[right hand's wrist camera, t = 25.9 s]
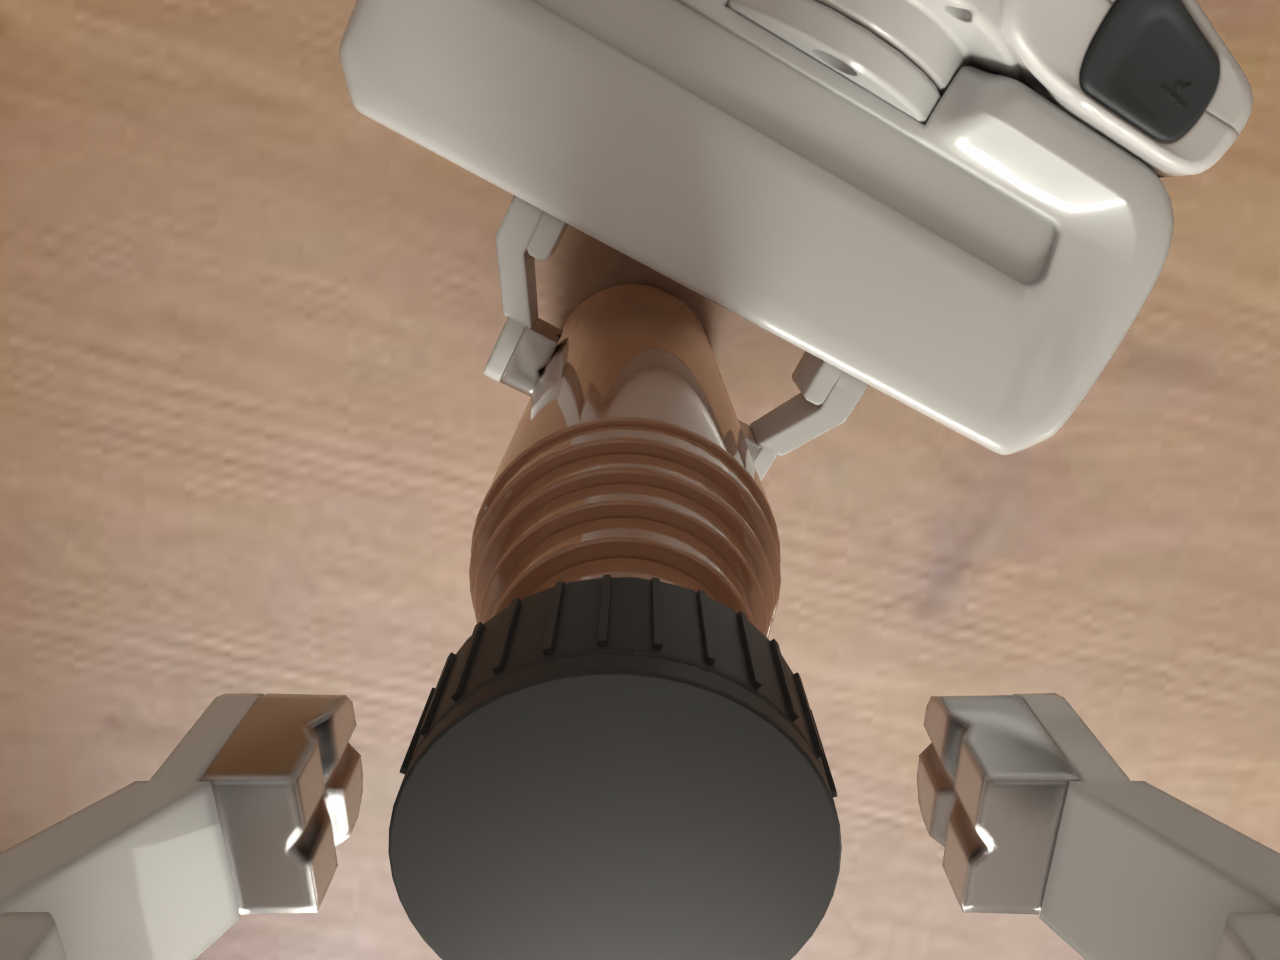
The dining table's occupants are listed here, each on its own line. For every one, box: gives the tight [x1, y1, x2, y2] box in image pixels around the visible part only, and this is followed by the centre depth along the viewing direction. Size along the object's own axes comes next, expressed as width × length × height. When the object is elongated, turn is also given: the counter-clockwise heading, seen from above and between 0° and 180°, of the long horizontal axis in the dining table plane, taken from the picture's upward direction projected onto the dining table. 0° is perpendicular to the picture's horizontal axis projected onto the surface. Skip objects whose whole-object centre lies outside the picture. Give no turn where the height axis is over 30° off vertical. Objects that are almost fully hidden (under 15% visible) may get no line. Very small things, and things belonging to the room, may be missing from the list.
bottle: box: [469, 284, 781, 638], centre depth 19 cm, size 5×5×21 cm
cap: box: [389, 574, 842, 960], centre depth 9 cm, size 5×5×2 cm
